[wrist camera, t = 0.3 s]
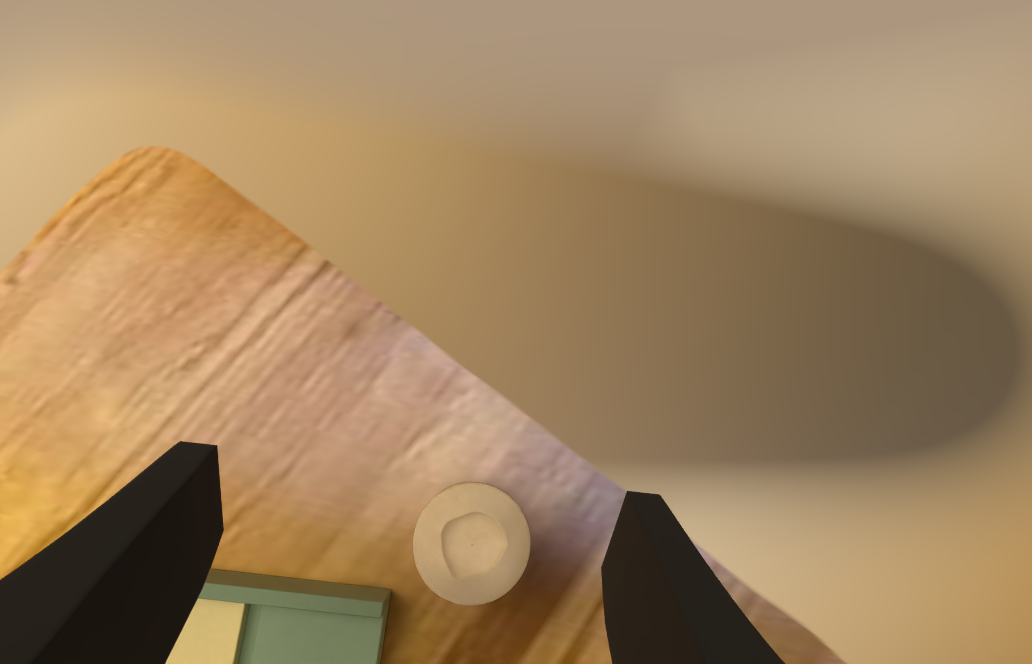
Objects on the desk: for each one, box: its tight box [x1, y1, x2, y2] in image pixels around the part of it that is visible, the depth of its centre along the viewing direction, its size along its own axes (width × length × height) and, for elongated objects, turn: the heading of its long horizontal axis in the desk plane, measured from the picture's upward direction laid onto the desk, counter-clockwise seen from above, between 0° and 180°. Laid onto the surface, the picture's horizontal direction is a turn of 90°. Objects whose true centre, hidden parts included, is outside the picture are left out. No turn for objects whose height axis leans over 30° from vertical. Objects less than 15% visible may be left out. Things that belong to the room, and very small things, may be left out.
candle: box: [413, 482, 530, 606], centre depth 35 cm, size 6×6×10 cm
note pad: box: [165, 598, 250, 664], centre depth 36 cm, size 4×4×1 cm
